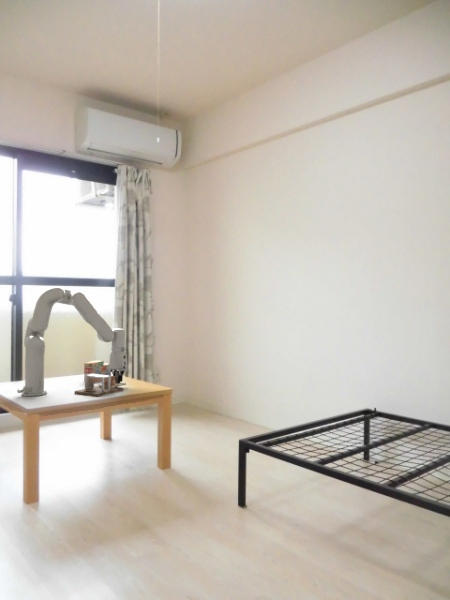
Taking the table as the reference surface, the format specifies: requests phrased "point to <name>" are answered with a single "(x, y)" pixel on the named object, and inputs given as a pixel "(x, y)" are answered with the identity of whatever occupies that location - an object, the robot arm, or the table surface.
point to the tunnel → (90, 381)
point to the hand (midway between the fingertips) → (117, 381)
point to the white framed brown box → (113, 381)
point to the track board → (98, 391)
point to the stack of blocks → (96, 369)
